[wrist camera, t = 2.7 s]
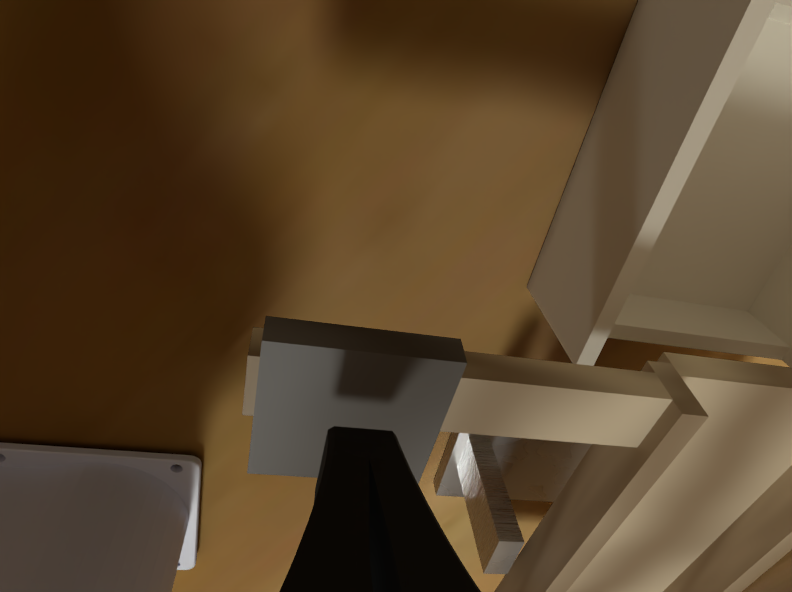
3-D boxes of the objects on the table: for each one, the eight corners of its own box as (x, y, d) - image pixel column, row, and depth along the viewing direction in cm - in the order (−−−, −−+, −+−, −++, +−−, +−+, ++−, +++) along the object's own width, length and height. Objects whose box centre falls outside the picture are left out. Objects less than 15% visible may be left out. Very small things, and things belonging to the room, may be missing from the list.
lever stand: (433, 481, 27) (457, 602, 22) (466, 390, 24) (503, 505, 19) (646, 495, 30) (712, 606, 24) (700, 413, 27) (788, 521, 21)
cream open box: (526, 286, 22) (574, 367, 17) (652, -37, 16) (767, -35, 12) (744, 318, 24) (835, 396, 19) (923, 39, 18) (1104, 65, 14)
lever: (224, 642, 25) (210, 733, 23) (261, 262, 13) (242, 359, 11) (594, 643, 29) (621, 721, 26) (884, 348, 17) (988, 435, 14)
